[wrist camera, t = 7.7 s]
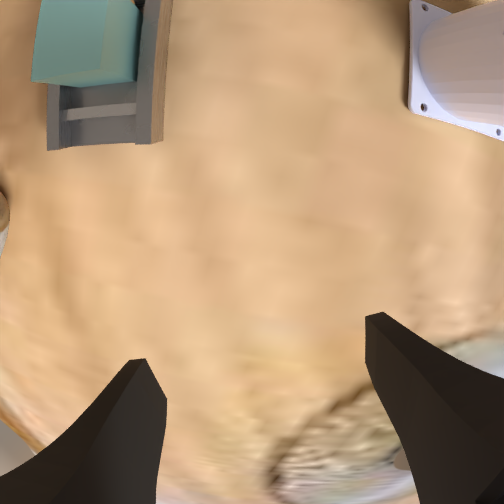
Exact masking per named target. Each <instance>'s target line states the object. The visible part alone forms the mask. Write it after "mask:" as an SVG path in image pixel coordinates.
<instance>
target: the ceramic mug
mask: <svg viewBox="0 0 504 504" xmlns="http://www.w3.org/2000/svg"><path fill="white" fill-rule="evenodd" d="M9 221H10V210H9V206H8V203H7V201H6V199H5V197H4V195H3V194H2V193H1V192H0V257H1V254H2V251H3V248H4V245H5V242H6V238H7V234H8V228H9Z"/></svg>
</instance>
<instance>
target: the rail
mask: <svg viewBox="0 0 504 504" xmlns="http://www.w3.org/2000/svg"><path fill="white" fill-rule="evenodd" d="M133 1H134V2H135V4H134V5H135V6H136V7H137V8H138V9H139V10H140V11H141V12H142V13H143V19H142V27H141V37H140V47H139V58H138V71H137V81H136V82H124V83H113V84H104V85H96V86H88V87H81V88H79V87H72V86H65V85H57V84H49V83H48V94H47V151H49V150H58V149H63V148H67V147H72V146H83V145H97V144H114V143H135V145H136V144H153V143H156V142H160V141H163V123H164V98H165V80H166V65H167V53H168V41H169V31H170V21H171V12H172V4H173V0H133Z"/></svg>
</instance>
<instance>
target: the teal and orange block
mask: <svg viewBox="0 0 504 504" xmlns="http://www.w3.org/2000/svg"><path fill="white" fill-rule="evenodd" d="M134 4H135V2H134V1H133V0H42V2H41V7H40V13H39V18H38V24H37V30H36V37H35V44H34V52H33V62H32V73H31V82H39V83H49V84H57V85H65V86H72V87H79V88H81V87H88V86H96V85H104V84H113V83H124V82H136V81H137V71H138V58H139V47H140V37H141V27H142V19H143V13H142V12H141V11H140V10H139V9H138V8H137V7H136V6H135V5H134Z"/></svg>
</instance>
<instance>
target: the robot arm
mask: <svg viewBox="0 0 504 504" xmlns="http://www.w3.org/2000/svg"><path fill="white" fill-rule="evenodd" d="M422 6H423V7H424V8H425V10H426V11H425V10H423V8H422ZM409 10H410V71H409V92H408V108H409V110H410V111H411V112H412V113H414V114H418V115H422V116H426V117H430V118H433V119H437V120H440V121H444V122H447V123H451V124H454V125H457V126H460V127H464V128H467V129H470V130H473V131H476V132H479V133H482V134H485V135H487V136H490V137H493V138H496V139H498V140H501V141H504V0H495V1H492V2H488V3H485V4H481V5H478V6H475V7H472V8H469V9H466V10H463V11H460V12H457V13H454V14H453V13H450V12H448V11H446V10H444V9H441V8H439V7H437V6H434V5H432V4H429V3H427V2H424V1H422V0H411V1H410V3H409ZM421 104H423V106H424V110H423V111H422V110H421V107H420V106H421ZM496 131H497V133H496ZM365 329H366V344H365V363H366V366H367V369H368V372H369V375H370V377H371V380H372V383H373V386H374V388H375V390H376V392H377V394H378V396H379V398H380V400H381V402H382V404H383V406H384V408H385V410H386V412H387V414H388V416H389V418H390V420H391V422H392V424H393V426H394V428H395V430H396V432H397V434H398V436H399V438H400V441H401V443H402V445H403V448H404V450H405V454H406V456H407V460H408V462H409V466H410V468H411V472H412V475H413V479H414V482H415V486H416V489H417V493H418V497H419V501H420V504H504V378H501V377H498V376H495V375H492V374H489V373H487V372H484V371H482V370H480V369H477V368H475V367H473V366H471V365H469V364H466V363H464V362H462V361H460V360H458V359H456V358H455V357H453V356H451V355H449V354H447V353H446V352H444V351H442V350H440V349H439V348H437V347H435V346H434V345H432V344H430V343H429V342H427V341H426V340H424V339H423V338H421V337H419V336H418V335H416V334H415V333H413V332H412V331H410V330H409V329H408V328H406V327H405V326H403V325H402V324H400V323H399V322H397V321H396V320H394V319H393V318H392V317H390V316H389V315H387V314H386V313H384V312H380V313H376V314H372V315H369V316H365ZM166 417H167V398H166V396H165V394H164V393H163V391H162V389H161V387H160V385H159V383H158V382H157V380H156V378H155V376H154V374H153V372H152V370H151V368H150V366H149V365H148V363H147V361H146V359H145V358H144V359H135V360H129V361H128V362H127V363H126V364H125V365H124V366H123V368H122V369H121V370H120V371H119V372H118V373H117V374H116V376H115V377H114V378H113V379H112V380H111V382H110V383H109V384H108V385H107V386H106V387H105V389H104V390H103V391H102V392H101V393H100V395H99V396H98V397H97V398H96V399H95V400H94V402H93V403H92V404H91V405H90V406H89V407H88V408H87V409H86V410H85V411H84V412H83V413H82V415H81V416H80V417H79V418H78V419H77V420H76V421H75V422H74V423H73V424H72V425H71V426H70V427H69V428H68V429H67V430H66V431H65V432H64V433H63V434H62V435H60V436H59V437H58V438H57V439H56V440H55V441H54V442H52V443H51V444H50V445H49V446H47V447H46V448H45V449H43V450H42V451H41V452H39V453H38V454H37V455H35V456H34V457H33V458H31V459H30V460H28V461H27V462H25V463H24V464H22V465H20V466H19V467H17V468H15V469H14V470H12V471H10V472H8V473H7V474H4V475H2V476H0V504H156V484H157V476H158V470H159V464H160V458H161V452H162V446H163V440H164V435H165V429H166Z"/></svg>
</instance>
